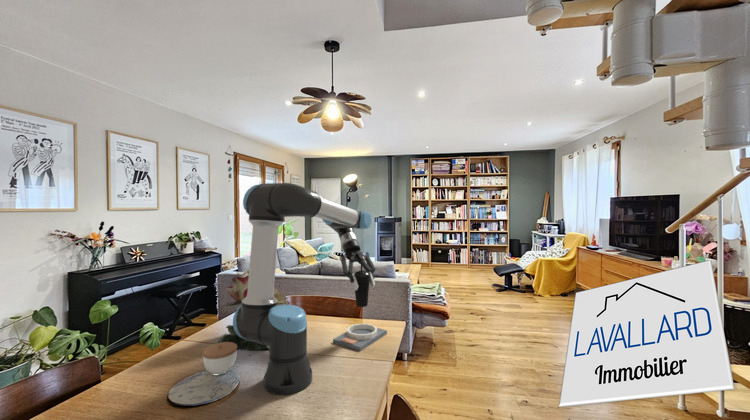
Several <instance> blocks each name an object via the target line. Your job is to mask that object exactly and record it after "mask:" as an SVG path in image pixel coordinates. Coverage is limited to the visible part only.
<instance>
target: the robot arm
mask: <svg viewBox="0 0 750 420" xmlns="http://www.w3.org/2000/svg"><path fill="white" fill-rule="evenodd" d="M246 190H247V191H246V192H245V193H244V196H243V200H242V206H243V207H242V208H243V209H244V210H245V212H246V214H247V215H248V222H249V224H250V225H251V226H252V232H251V233H252V234H251V242H250V243H251V244H250V245H251V247H250V254H249V255H250V257H249V267H248V270H249V279H248V291H247V296H246V297H245V298H244V299H243V300H242V303H241V305H240V306H238V307H237V310H236V311H235V312H234V314H233V317H232V318H233V319H232V326H233V328H234V331H235V333H236V334H237V335H238V336H239V337H241V338H244V339H245V340H247V341H252V342H256V343H260V344H263V345H267V346H269V350H268V353H269V354H268V355H269V357H268V358H269V359H268V363H267V368H266V372H265V373H264V376H263V388H264V390H265V391H267V393H270V394H274V395H291V394H294V393H298V392H300V391H303V390H305V389H306V388H308V387H309V385H310V384H311V383H312V381H313V370H312V367H311V364H310V361H309V358H308V355H307V351H308V350H307V348H308V347H307V344H308V343H307V341H308V337H307V335H308V333H307V332H308V329H307V328H308V320H307V314H306V311H305V310H304V308H301V307H300V306H297V305H294V304H289V305H278V306H277V299H276V298H275V297H274V295H273V294H274V288H275V278H276V266H277V254H278V253H277V252H278V237H279V228H280V226H281V225H283V224H284V220H285V218H287V217H291V218H292V217H293V218H294V217H295V218H296V217H304V218H307V219H311V218H314V217H315V218H317V219H321V220H322V221H323V222H324V223H325V225H327V226H328V227H329V228H330V229H332V230H333V231H334V232H336V233H337V234H338V237H339V240H340V244H341V246H342V250H343V253H344V254H343V253H341V254H340V255H339V260H340V262H341V267H342V274H343V276H344V277H347V278H348V279H349V282H350V283H351V284H352V285H353V288H354V291H355V290H357V289H358V287H359V286H358V283H357V280H356V277H355V276H354V274H353V269H354V268H353V267H354V263H358V264H359V265H361V259H362V269H364V271H367V272H369V273H370V280H369V285H370V286H371V288H372V289H374V288H375V286H376V282H375V274H374V273H375V271H376V270H377V269H376V267H375V265H374V263H373V261H372V259H371V258H370V253H369V252H368V251H367V252H366V253H365V252H363V251H362V250H361V246H360V243H359V240H358V239H357V236H356V233H355V230H354V229H360V230H362V229H366V230H367V229H369V228H370V227H371V225H372V216H371V214H370V212H368V211H363V210H361V211H360V210H356V209H353V208H351V207H348V206H345V205H342V204H340V203H337V202H334V201H332V200H330V199H327V198H324V197H322V196H321V195H320V194H319V192H318V191H315V190H311V189H309V188H306V187H303V186H301V185H298V184H295V183H290V182H276V183H275V182H274V183H271V182H270V183H267V182H266V183H264V182H263V183H260V184H254V185H252V186H250V188H249V189H246ZM346 260H348V266H347V261H346Z"/></svg>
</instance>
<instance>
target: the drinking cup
mask: <svg viewBox="0 0 750 420" xmlns="http://www.w3.org/2000/svg"><path fill="white" fill-rule="evenodd" d="M352 274H354V276H355V277H356V280H357V283H358V286H359V287H358V289H357V290H355V289H354V296H355V304H356V307H358V308H366V307H367V306H368V304H369V289H370V282H369V280H370V273H369V272H367V271H366V270H363V267H362V259H361V264H360V270H357V271H355V272H352Z"/></svg>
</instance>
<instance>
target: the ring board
mask: <svg viewBox="0 0 750 420" xmlns="http://www.w3.org/2000/svg"><path fill="white" fill-rule="evenodd" d="M387 334H388V330H387V329H382V328H380V327H379V328H378V327H376V326H375V325H374V324H369V323H356V324H352V325H350V326H348V327H347V330H346V332H343V333H342V334H340V335H338V336H336V337H334V338H332V343H333V344H336V345H339V346H343V347H345V348H349V349H353V350H356V351H360V352H361V351H363V350H365V348H368V347H369V346H370V345H372V344H373V343H375V342H377V341H379V339H382V338H383V337H384V336H386V335H387Z"/></svg>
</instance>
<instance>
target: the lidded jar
mask: <svg viewBox="0 0 750 420" xmlns="http://www.w3.org/2000/svg"><path fill="white" fill-rule="evenodd" d="M237 354H238V350H237V345H236V344H235V343H232V342H222V343H217V342H216V343H214V344H210V345H209V346H206V347H205V348H204V349H203V350H202V362H203V366H204V369H205V370H206V371H207V372H208V373H210V374H211V373H212V374H221V373H224V372H227V371H228V370H229V371H230V370H231V369H232V367H233V366H234V365H235V362H236V361H237V356H238V355H237ZM229 371H228V372H229ZM228 372H227V373H228ZM212 374H211V375H212Z"/></svg>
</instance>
